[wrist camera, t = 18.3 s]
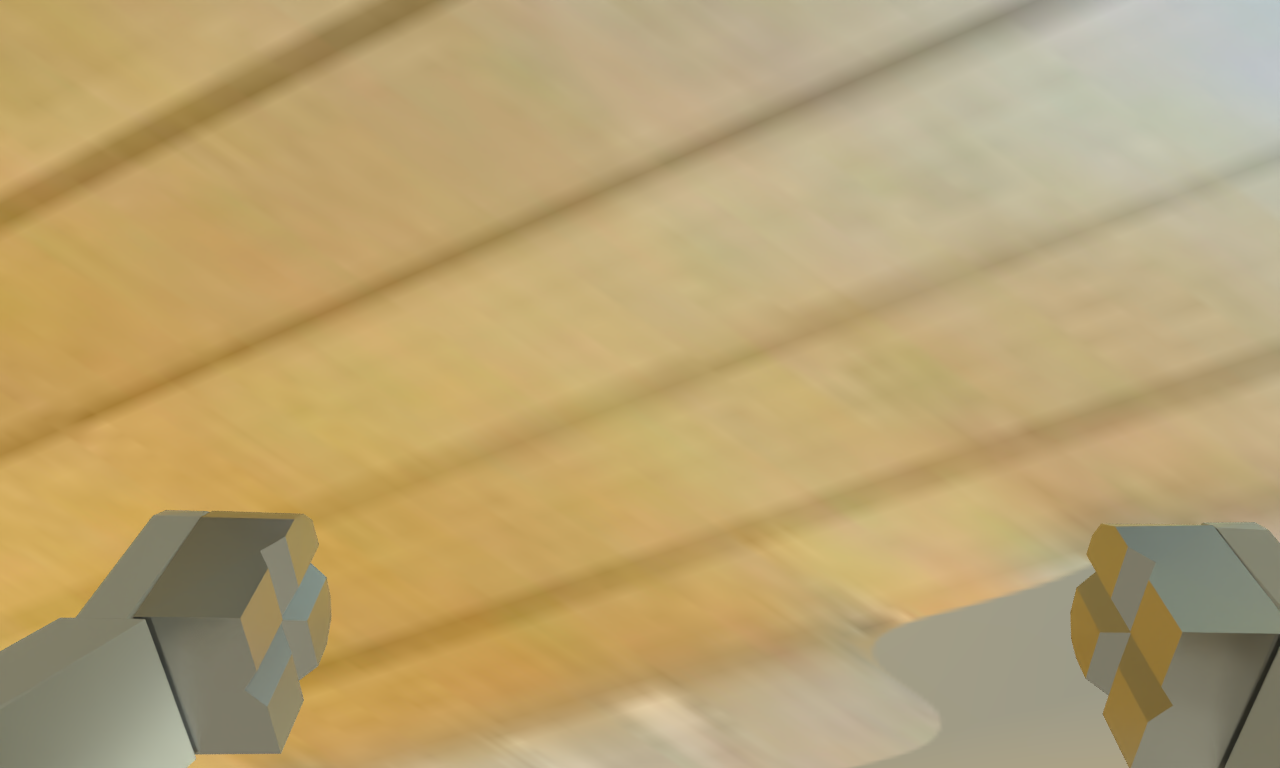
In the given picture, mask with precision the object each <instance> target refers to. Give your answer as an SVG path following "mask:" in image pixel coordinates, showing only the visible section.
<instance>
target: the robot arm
mask: <svg viewBox="0 0 1280 768" xmlns="http://www.w3.org/2000/svg"><path fill="white" fill-rule="evenodd" d="M318 546H319V543H318V539H317V536H316V532H315V529H314V525H313V521H312V520H311V519H310V518H309V517H307V516H306V515H304V514H291V513H261V512H232V511H211V512H207V511H179V510H165V511H163V512H161V513H158V514H156V515H154V516H153V517H152V518H151V519H150V520H149V521H148V523H147V524H146V525H145V527H144V528H143V529H142V531H141V532H140V533H139V535H138V536H137V537H136V539H135V540H134V541H133V542H132V544H131V545H130V546H129V548H128V549H127V550H126V552H125V553H124V554H123V556H122V557H121V558H120V560H119V561H118V562H117V564H116V565H115V566H114V568H113V569H112V570H111V571H110V573H109V574H108V575H107V577H106V578H105V579H104V581H103V582H102V583H101V585H100V586H99V587H98V589H97V590H96V591H95V593H94V594H93V595H92V597H91V598H90V599H89V600H88V602H87V603H86V604H85V606H84V607H83V608H82V610H81V611H80V612H79V614H78V615H77V616H76V618H59V619H57V620H55V621H54V622H52V623H50V624H48V625H46V626H45V627H43V628H41V629H39V630H37V631H36V632H34V633H32V634H30V635H29V636H27V637H25V638H23V639H21V640H20V641H18V642H16V643H14V644H12V645H11V646H9V647H7V648H5V649H4V650H2V651H0V768H187V767H188V766H189V765H190V764H191V763H192V762H193V761H194V760H196V756H195V754H281V752H282V750H283V747H284V745H285V743H286V740H287V738H288V736H289V733H290V731H291V729H292V726H293V724H294V722H295V719H296V717H297V715H298V712H299V710H300V708H301V705H302V703H303V701H304V699H303V695H302V691H301V687H300V684H299V680H300V679H302V678H303V677H304V676H305V675H307V674H308V673H309V672H311V671H312V670H313V669H315V668H316V667H317V666H318V665H319V662H320V660H321V657H322V655H323V652H324V650H325V647H326V645H327V639H328V633H329V627H330V621H331V599H330V592H329V587H328V582H327V577H325V576H324V575H323V574H322V573H321V572H320V571H319V570H318V569H317V568H316V567H314V566H313V565H312V564H311V561H312V558H313V556H314V554H315V552H316V550H317V548H318ZM1087 556H1088V558H1089V560H1090V562H1091V564H1092V565H1093V567H1094V569H1095V570H1096V572H1095V573H1094V574H1093V575H1091V576H1090V577H1089V578H1088V579H1087V580H1085V581H1084V582H1083V583H1082V584H1081V585H1079V586H1078V587H1077V588H1076V592H1075V596H1074V600H1073V604H1072V609H1071V639H1072V643H1073V647H1074V651H1075V655H1076V659H1077V660H1078V663H1079V665H1080V667H1081V669H1082V672H1083V674H1084V676H1085V678H1086V679H1087V680H1088V681H1090V682H1091V683H1093V684H1094V685H1095V686H1096V687H1098V688H1099V689H1100V690H1102V691H1103V692H1105V693H1106V694H1107V695H1109V696H1108V700H1107V702H1106V705H1105V708H1104V711H1103V716H1104V718H1105V720H1106V722H1107V724H1108V726H1109V728H1110V730H1111V732H1112V734H1113V736H1114V738H1115V740H1116V742H1117V744H1118V746H1119V748H1120V750H1121V752H1122V754H1123V756H1124V758H1125V760H1126V762H1127V764H1128V766H1129V768H1280V543H1279V542H1278V540H1277V539H1276V538H1275V537H1274V536H1273V535H1272V533H1271V532H1270V531H1269V530H1268V529H1266V528H1265V527H1263V526H1261V525H1259V524H1257V523H1255V522H1229V523H1202V524H1101V525H1100V526H1099V527H1098V529H1097V530H1096V531H1095V532H1094V534H1093V535H1092V538H1091V541H1090V545H1089V548H1088V551H1087Z"/></svg>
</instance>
